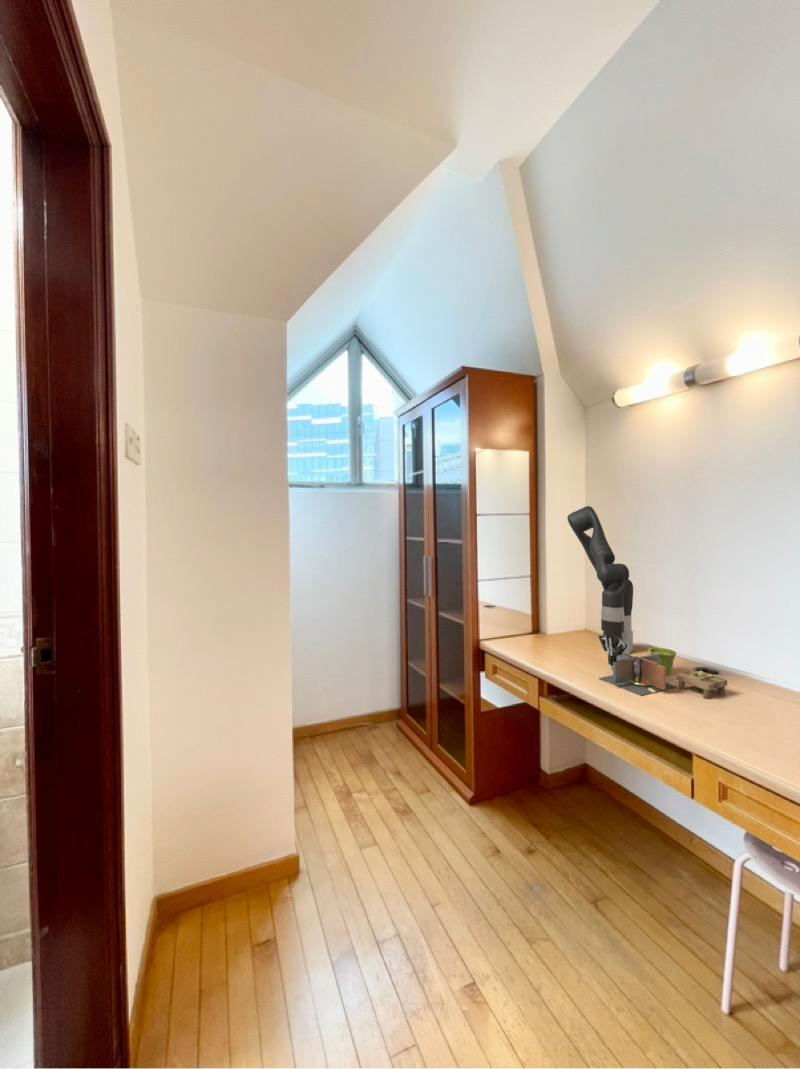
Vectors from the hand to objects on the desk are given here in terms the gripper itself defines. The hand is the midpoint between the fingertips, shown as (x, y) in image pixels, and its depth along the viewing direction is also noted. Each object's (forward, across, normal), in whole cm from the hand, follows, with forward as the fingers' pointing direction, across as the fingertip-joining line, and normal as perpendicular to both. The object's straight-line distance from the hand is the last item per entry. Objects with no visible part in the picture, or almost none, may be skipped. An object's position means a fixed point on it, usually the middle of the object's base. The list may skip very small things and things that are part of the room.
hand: (612, 664), depth 160 cm
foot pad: (+7, +1, +9) cm, 12 cm away
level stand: (+7, +13, +25) cm, 29 cm away
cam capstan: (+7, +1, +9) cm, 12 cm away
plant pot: (+8, -6, +26) cm, 28 cm away
